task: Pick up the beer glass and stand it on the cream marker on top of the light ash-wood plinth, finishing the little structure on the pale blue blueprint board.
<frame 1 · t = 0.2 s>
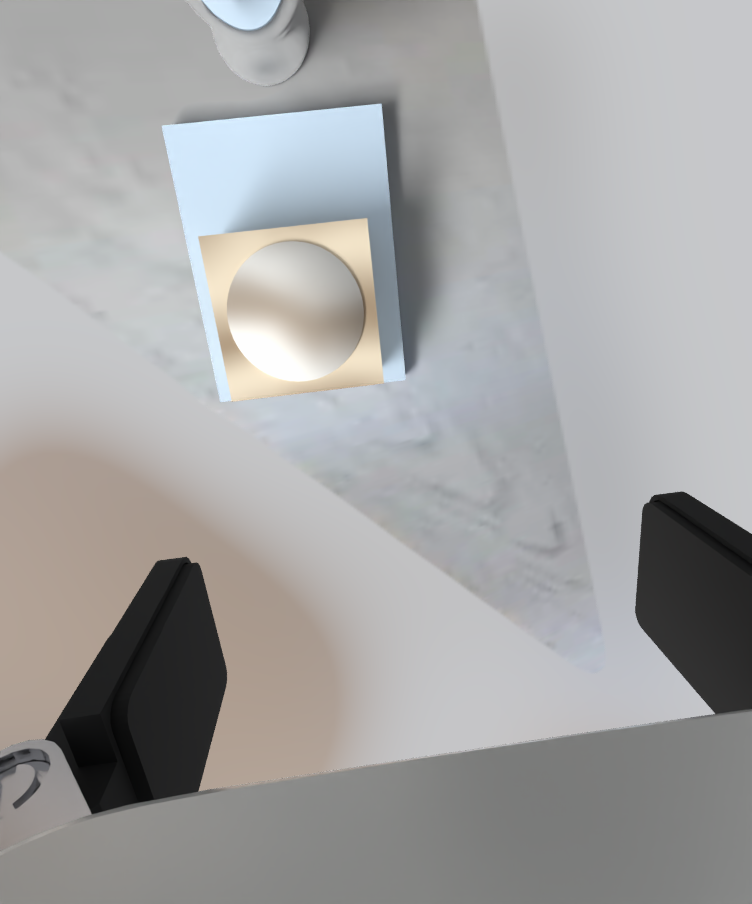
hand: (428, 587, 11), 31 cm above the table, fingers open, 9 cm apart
beer glass: (261, 31, 33), on the table
blueprint board: (296, 264, 37), on the table
plinth: (301, 308, 37), resting on blueprint board
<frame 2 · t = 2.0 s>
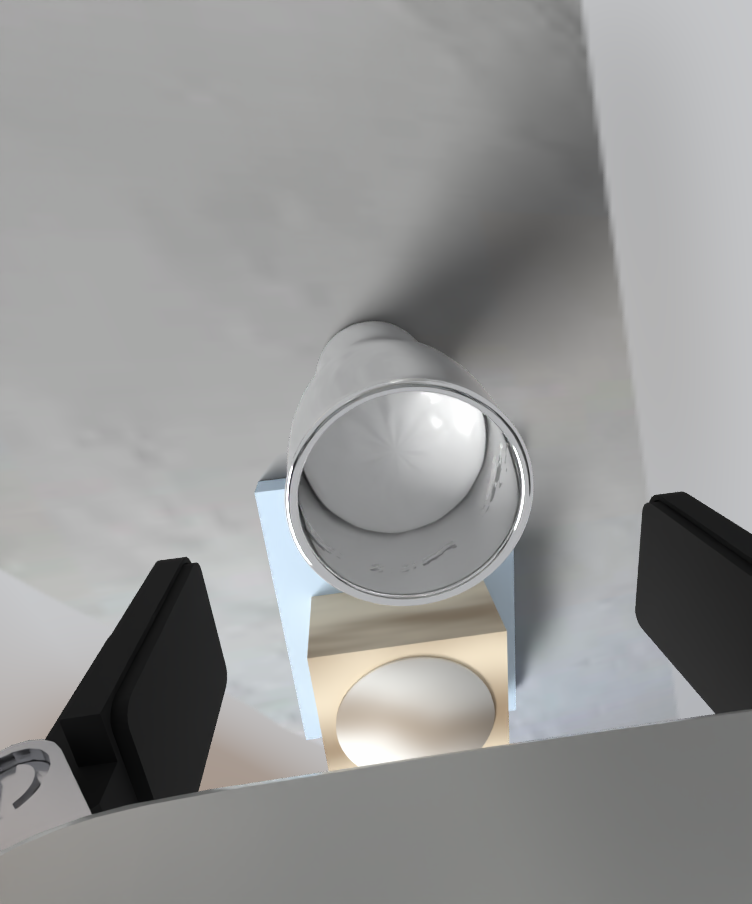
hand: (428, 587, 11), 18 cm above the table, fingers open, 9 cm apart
beer glass: (372, 378, 28), on the table
blueprint board: (396, 598, 32), on the table
plinth: (403, 653, 32), resting on blueprint board
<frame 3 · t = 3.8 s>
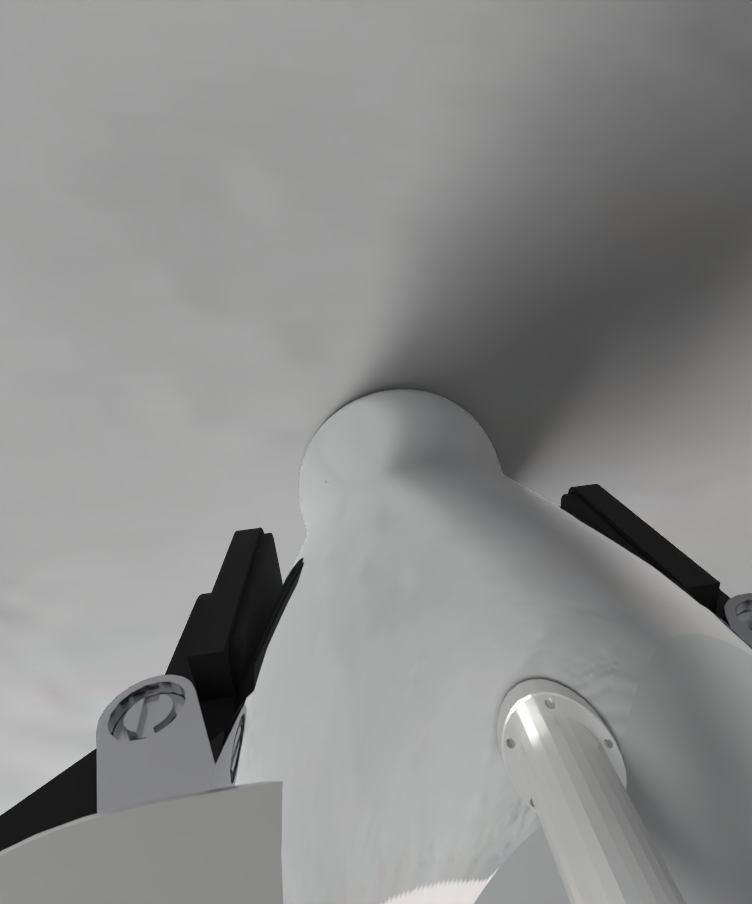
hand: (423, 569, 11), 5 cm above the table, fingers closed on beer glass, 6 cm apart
beer glass: (397, 482, 16), on the table, touching gripper
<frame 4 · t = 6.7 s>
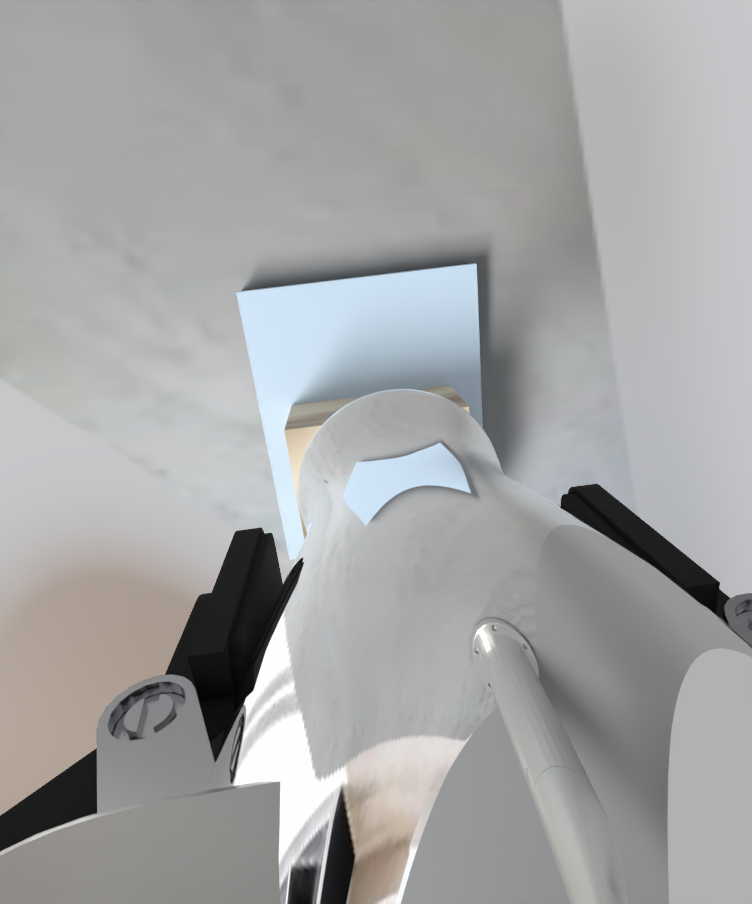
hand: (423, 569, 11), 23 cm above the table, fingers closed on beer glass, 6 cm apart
beer glass: (397, 482, 16), point 18 cm above the table, touching gripper
blueprint board: (373, 418, 34), on the table
plinth: (379, 468, 34), resting on blueprint board
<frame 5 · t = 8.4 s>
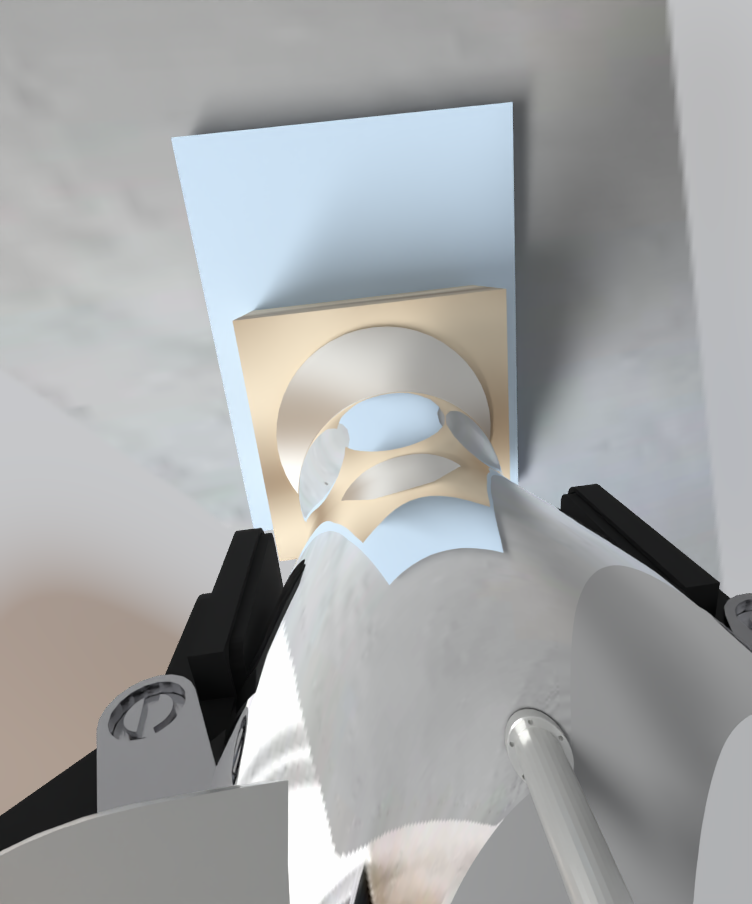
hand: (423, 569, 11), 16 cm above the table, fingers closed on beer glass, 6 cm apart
beer glass: (398, 484, 16), point 11 cm above the table, touching gripper
blueprint board: (366, 338, 25), on the table
plinth: (375, 404, 25), resting on blueprint board
when the fingers open (12 cm above the table, at t = 9.6 s): beer glass stays where it is, resting on plinth.
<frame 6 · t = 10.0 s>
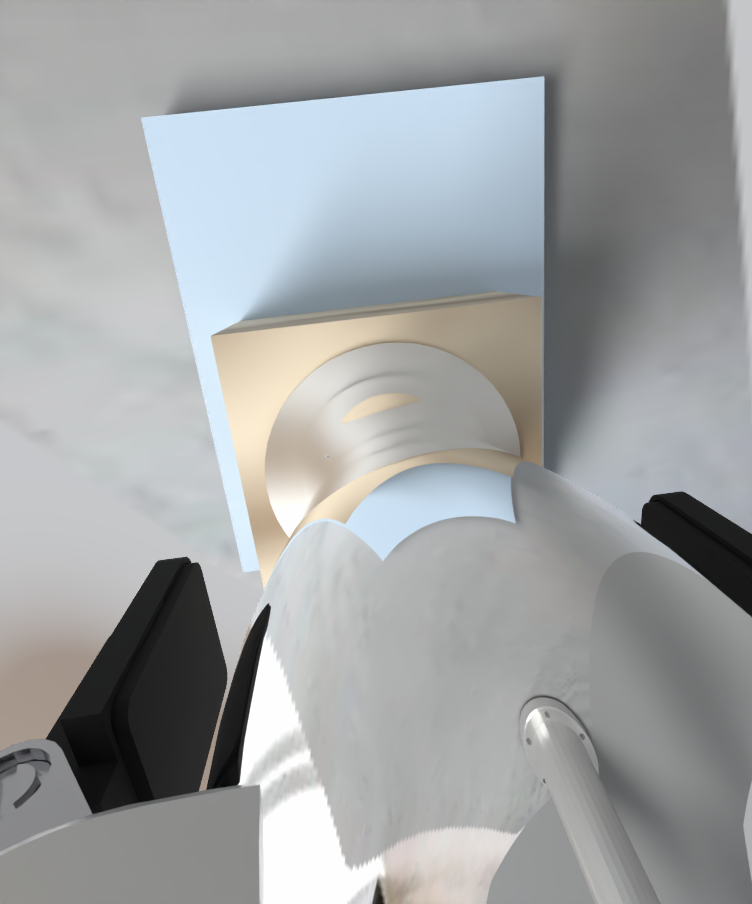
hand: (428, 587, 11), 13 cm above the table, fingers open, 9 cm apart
beer glass: (394, 464, 17), point 7 cm above the table, touching plinth
blueprint board: (371, 351, 22), on the table
plinth: (381, 428, 22), resting on blueprint board
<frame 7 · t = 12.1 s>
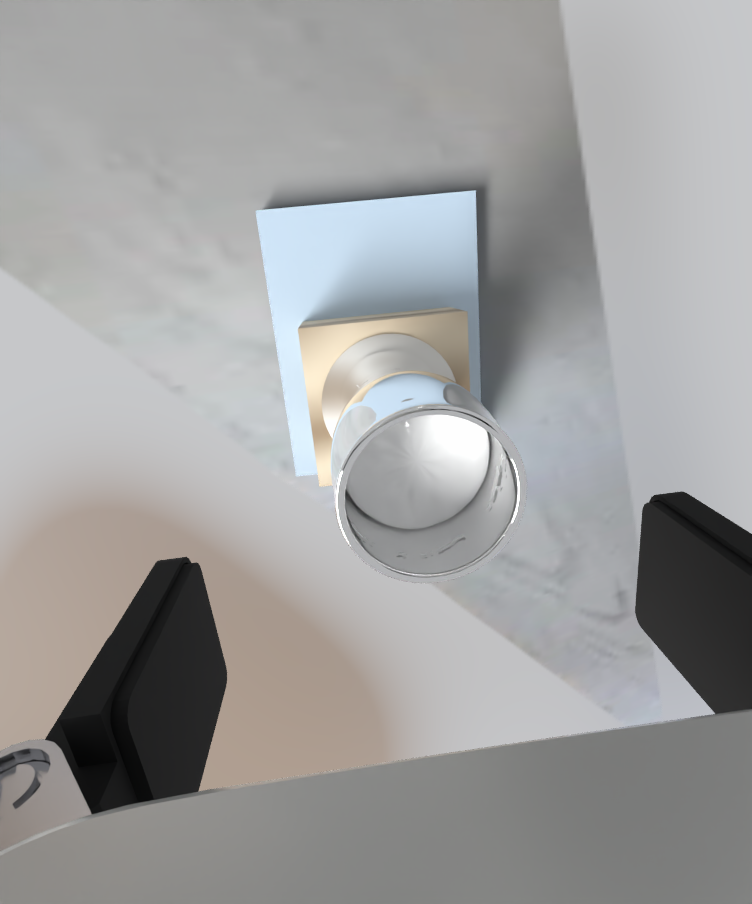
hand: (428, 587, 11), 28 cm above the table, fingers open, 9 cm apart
beer glass: (390, 399, 32), point 7 cm above the table, touching plinth
blueprint board: (377, 341, 37), on the table
plinth: (383, 386, 37), resting on blueprint board
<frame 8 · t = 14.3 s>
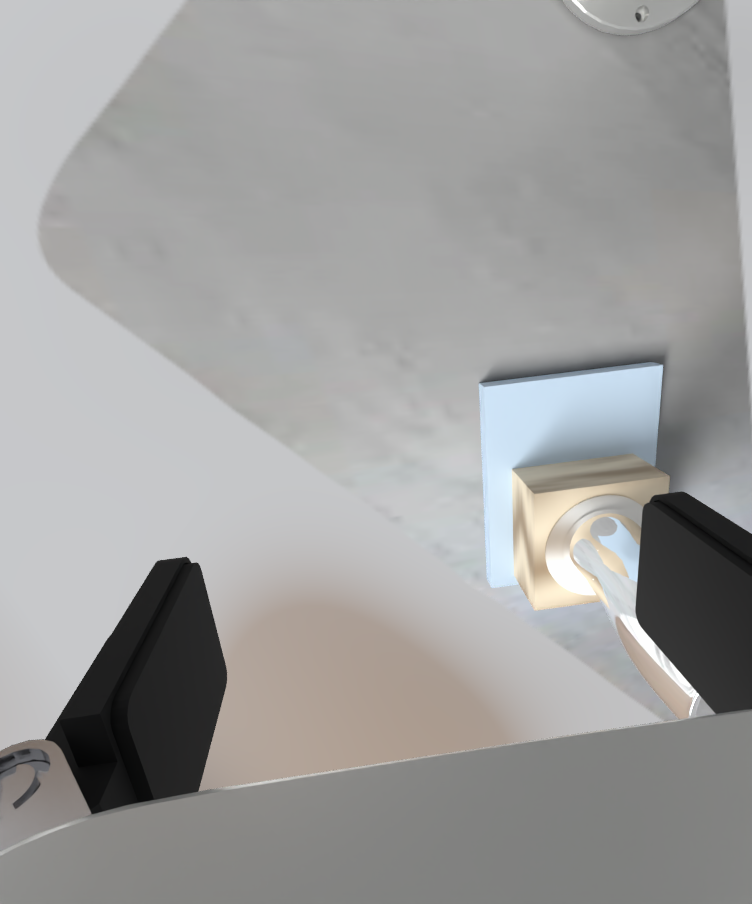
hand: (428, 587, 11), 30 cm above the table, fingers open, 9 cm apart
beer glass: (600, 543, 39), point 7 cm above the table, touching plinth
blueprint board: (564, 477, 44), on the table
plinth: (571, 516, 43), resting on blueprint board
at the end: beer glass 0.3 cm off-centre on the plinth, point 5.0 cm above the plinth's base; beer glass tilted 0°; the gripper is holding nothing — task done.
